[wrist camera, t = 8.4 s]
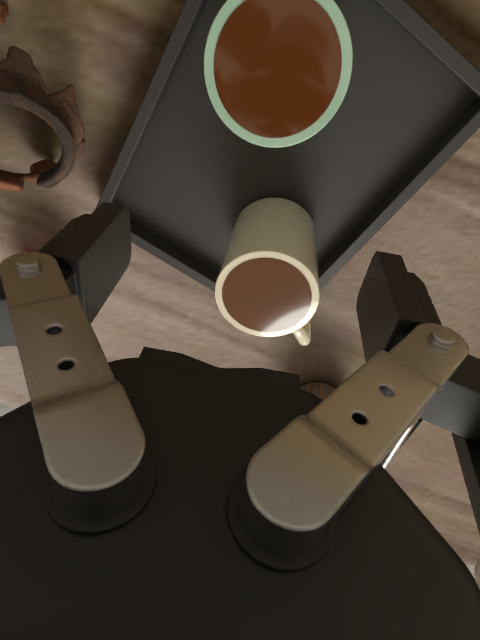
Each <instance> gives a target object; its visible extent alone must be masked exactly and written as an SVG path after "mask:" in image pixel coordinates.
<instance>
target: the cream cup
mask: <svg viewBox="0 0 480 640" xmlns="http://www.w3.org/2000/svg"><path fill="white" fill-rule="evenodd" d="M215 298H216V302H217V305H218V307H219V310H220V311H221V313H222V314H223V316H224V317H225V318H226V319H227V320H228V321H229V322H230V323H231V324H232V325H234V326H235V327H236V328H238V329H240V330H242V331H244V332H246V333H249V334H252V335H256V336H262V337H277V336H283V335H286V334H290V333H293V334H294V336H295V337H296V339H297V341H298V342H299V344H301V345H303V346H306V345H308V344H309V343H310V341H311V329H310V319H311V318H312V317H313V315H314V313H315V312H316V309H317V307H318V303H319V276H318V257H317V238H316V229H315V225H314V223H313V220H312V219H311V217H310V215H309V214H308V213H307V212H306V211H305V210H304V209H303V208H302V207H301V206H299V205H298V204H296V203H294V202H293V201H290V200H287V199H283V198H265V199H261V200H258V201H255V202H253V203H252V204H250V205H248V206H247V207H246V208H245V209H244V210H243V211H242V212H241V213H240V214H239V216H238V217H237V219H236V221H235V223H234V226H233V229H232V233H231V236H230V239H229V242H228V245H227V249H226V252H225V255H224V258H223V262H222V265H221V268H220V271H219V274H218V278H217V281H216V285H215Z"/></svg>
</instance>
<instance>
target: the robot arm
mask: <svg viewBox="0 0 480 640" xmlns="http://www.w3.org/2000/svg"><path fill="white" fill-rule="evenodd" d="M130 258H131V230H130V211H129V208H128V206H125V205H120V204H114V203H108V202H103V203H101V205H100V206H99V207H98V208H97V209H96V210H95V211H94V212H93V213H92V214H91V215H90V214H84V215H82V216H79V217H77V218H75V219H72V220H71V221H70V222H69V223H68V224H67V225H66V226H65V227H64V229H62V230H61V231H60V232H59V233H58V235H56V236H55V237H54V238H53V239H51V240H50V241H49V242H48V243H47V244H46V245H45V246H44V247H43V248H42V249H41V250H40V251H39V252H24V253H19V254H15V255H12V256H10V257H8V258H6V259H5V260H3V261H2V262H1V264H0V346H17V347H18V351H19V355H20V359H21V363H22V367H23V371H24V375H25V379H26V383H27V387H28V391H29V395H30V399H31V401H30V402H28V403H26V404H24V405H22V406H20V407H18V408H17V409H15V410H13V411H11V412H9V413H7V414H5V415H3V416H1V417H0V640H480V558H479V559H478V561H477V563H476V566H475V573H474V574H475V579H474V577H473V576H472V574H471V572H470V571H469V569H468V568H467V566H466V565H465V564H464V562H463V561H462V560H461V558H460V557H459V556H458V555H457V553H456V552H455V551H454V550H453V549H452V547H451V546H450V545H449V544H448V543H447V542H446V540H445V539H444V538H443V537H442V536H441V535H440V533H439V532H438V531H437V530H436V529H435V527H434V526H433V525H432V524H431V523H430V522H429V520H428V519H427V518H426V517H425V516H424V515H423V513H422V512H421V511H420V510H419V509H418V507H417V506H416V505H415V504H414V503H413V502H412V500H411V499H410V498H409V497H408V496H407V494H406V493H405V492H404V491H403V490H402V489H401V487H400V486H399V485H398V484H397V483H396V481H395V480H394V479H393V478H392V477H391V476H390V474H389V473H388V472H387V471H386V469H387V467H388V466H389V464H390V463H391V462H392V460H393V459H394V458H395V456H396V455H397V454H398V452H399V451H400V450H401V449H402V447H403V446H404V445H405V443H406V442H407V441H408V440H409V438H410V437H411V436H412V434H413V433H414V432H415V431H416V429H417V428H418V427H419V425H420V424H421V423H422V421H423V420H425V421H427V422H429V423H432V424H434V425H436V426H438V427H441V428H443V429H445V430H448V431H450V432H452V436H453V440H454V443H455V447H456V451H457V454H458V458H459V462H460V465H461V469H462V472H463V476H464V480H465V483H466V487H467V491H468V494H469V498H470V502H471V505H472V509H473V512H474V516H475V520H476V523H477V527H478V531H479V534H480V359H478V358H475V357H473V356H471V355H469V354H468V353H469V348H468V345H467V343H466V342H465V340H464V339H463V338H462V337H461V336H460V335H459V334H457V333H456V332H454V331H453V330H451V329H449V328H447V327H444V326H442V324H441V322H440V319H439V317H438V315H437V312H436V310H435V308H434V305H433V304H431V303H432V301H431V298H430V296H429V295H428V291H427V289H426V287H425V284H424V283H423V282H422V281H421V280H420V279H419V278H418V277H417V276H416V275H415V274H414V273H410V272H407V269H406V267H405V264H404V261H403V259H402V257H401V255H396V254H390V253H385V252H379V251H377V252H376V253H375V254H374V256H373V258H372V260H371V263H370V265H369V268H368V270H367V273H366V276H365V278H364V281H363V283H362V286H361V288H360V291H359V294H358V298H357V315H358V321H359V326H360V332H361V338H362V343H363V349H364V355H365V361H366V363H365V364H363V365H362V366H361V367H360V368H359V369H358V370H357V371H356V372H354V373H353V374H352V375H351V376H350V377H349V378H348V379H347V380H345V381H344V382H343V383H342V384H341V385H340V386H339V387H338V388H336V389H335V390H334V391H333V392H332V393H331V394H330V395H329V396H328V397H326V398H325V399H324V400H322V399H321V398H320V397H318V396H316V395H315V394H313V393H311V392H309V391H307V390H306V389H303V388H301V387H299V375H297V374H291V373H286V372H280V371H275V370H269V369H264V368H218V367H215V366H212V365H210V364H207V363H205V362H202V361H200V360H197V359H194V358H192V357H189V356H187V355H184V354H181V353H176V352H170V351H165V350H159V349H154V348H148V347H144V348H143V350H142V352H141V354H140V357H139V358H127V359H121V360H116V361H112V362H109V363H108V362H107V360H106V357H105V355H104V353H103V351H102V349H101V346H100V344H99V342H98V340H97V337H96V335H95V333H94V331H93V329H92V326H91V323H92V321H93V320H94V318H95V317H96V315H97V314H98V312H99V311H100V309H101V307H102V306H103V304H104V303H105V301H106V300H107V298H108V297H109V295H110V294H111V292H112V291H113V289H114V287H115V286H116V284H117V283H118V281H119V280H120V278H121V277H122V275H123V274H124V272H125V271H126V269H127V267H128V265H129V262H130Z"/></svg>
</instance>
